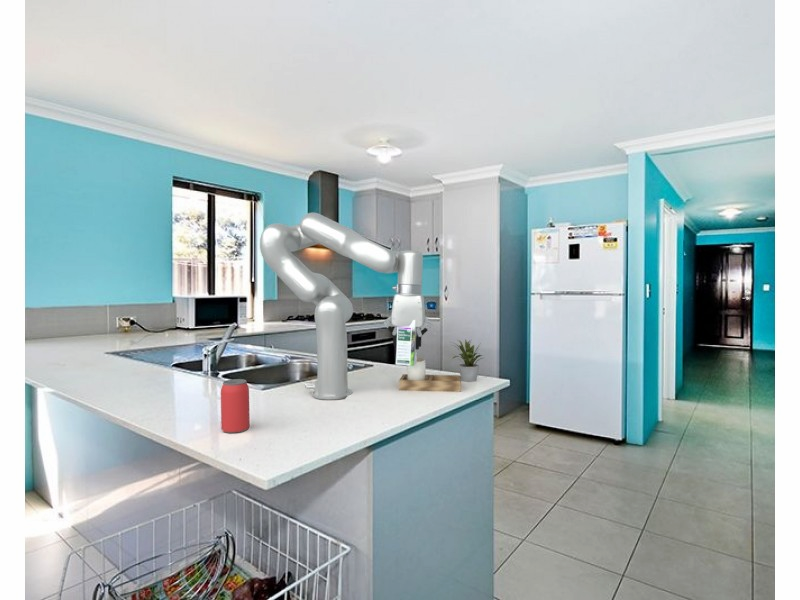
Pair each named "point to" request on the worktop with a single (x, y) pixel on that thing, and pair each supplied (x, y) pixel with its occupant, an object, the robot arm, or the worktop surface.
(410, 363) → the syrup box
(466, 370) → the house plant
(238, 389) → the beer can
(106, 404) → the worktop surface
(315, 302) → the robot arm
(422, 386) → the wooden tray
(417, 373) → the ceramic jar
